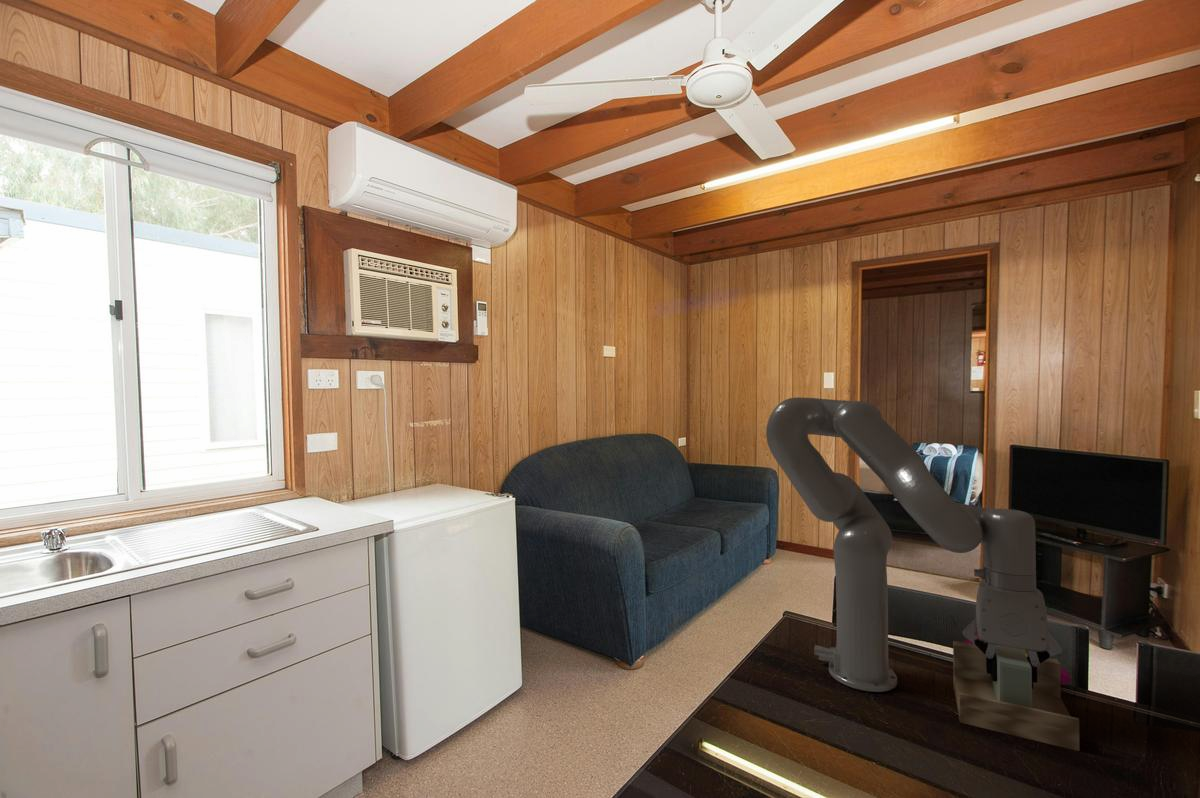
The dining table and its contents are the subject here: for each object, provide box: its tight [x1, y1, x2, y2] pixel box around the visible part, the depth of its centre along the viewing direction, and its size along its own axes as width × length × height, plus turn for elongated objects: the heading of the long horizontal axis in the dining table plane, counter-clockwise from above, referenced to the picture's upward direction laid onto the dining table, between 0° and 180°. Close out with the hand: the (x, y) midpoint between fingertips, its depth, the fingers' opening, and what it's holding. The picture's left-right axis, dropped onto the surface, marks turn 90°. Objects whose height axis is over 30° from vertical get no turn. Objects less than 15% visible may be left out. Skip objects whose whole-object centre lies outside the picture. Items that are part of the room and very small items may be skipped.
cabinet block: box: [992, 645, 1032, 708], centre depth 96 cm, size 4×9×8 cm, turn 151°
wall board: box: [952, 640, 1080, 752], centre depth 96 cm, size 16×14×9 cm
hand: (1011, 680), depth 96 cm, fingers closed on cabinet block, 4 cm apart
